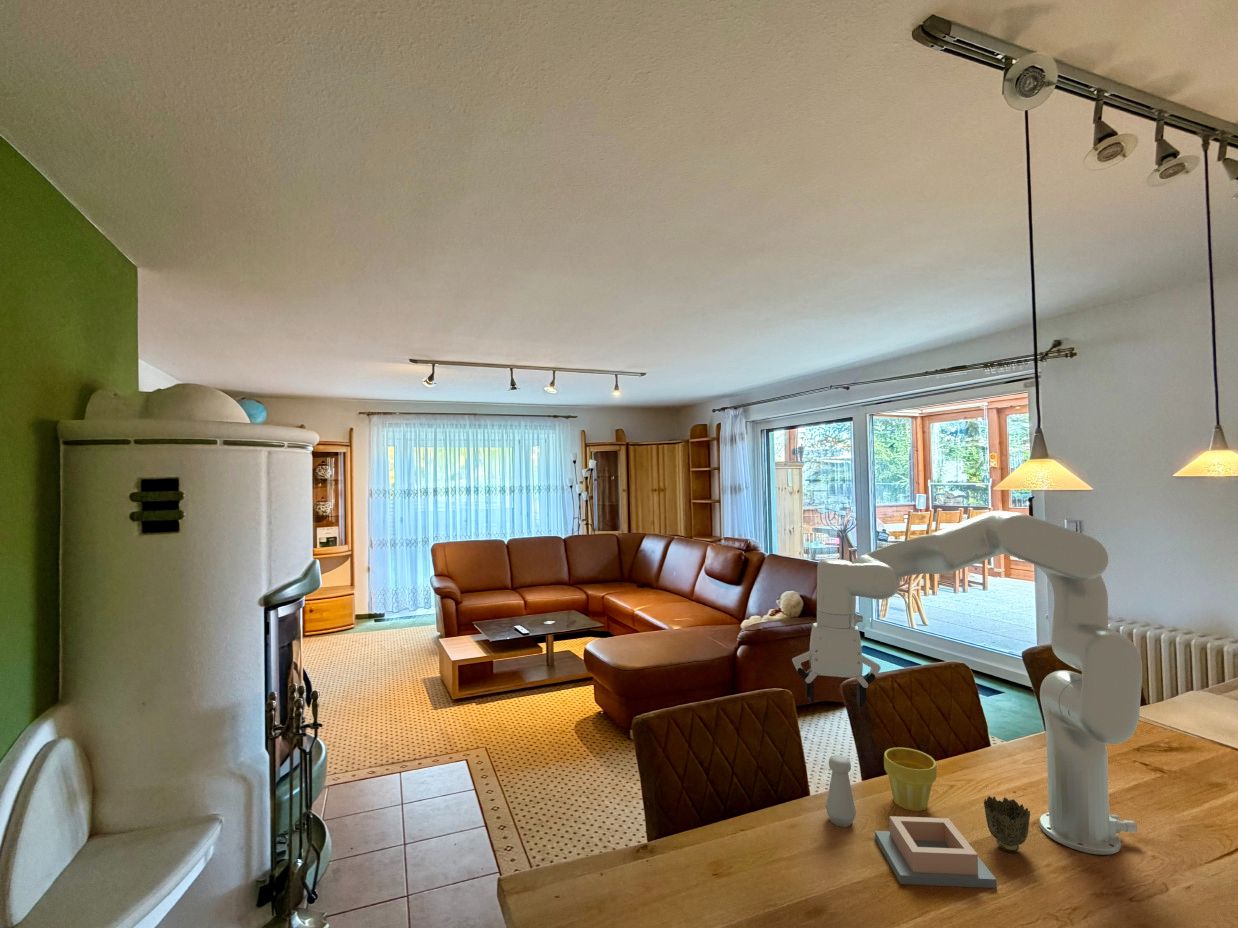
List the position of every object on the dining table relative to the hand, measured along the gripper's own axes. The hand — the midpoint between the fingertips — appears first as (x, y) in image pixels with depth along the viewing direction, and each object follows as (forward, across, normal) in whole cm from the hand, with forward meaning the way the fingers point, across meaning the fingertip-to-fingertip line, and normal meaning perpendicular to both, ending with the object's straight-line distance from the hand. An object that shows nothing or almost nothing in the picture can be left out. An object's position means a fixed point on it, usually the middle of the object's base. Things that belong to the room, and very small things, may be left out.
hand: (835, 702), depth 122 cm
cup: (+24, -31, +3) cm, 39 cm away
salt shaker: (+25, -1, -1) cm, 25 cm away
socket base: (+24, -16, +10) cm, 30 cm away
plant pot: (+24, -17, -10) cm, 32 cm away
